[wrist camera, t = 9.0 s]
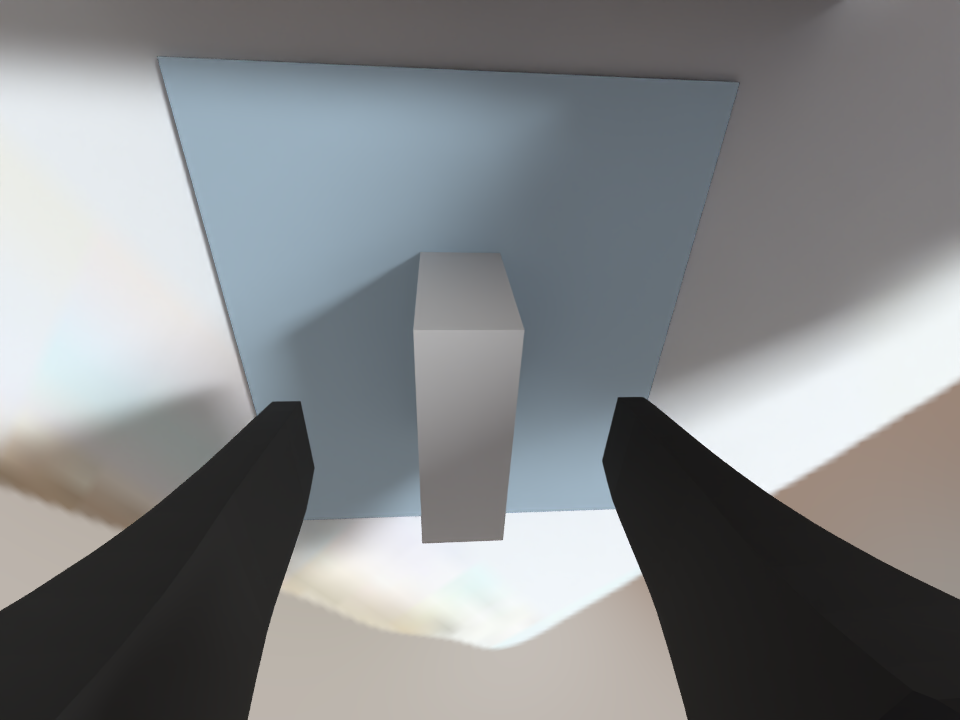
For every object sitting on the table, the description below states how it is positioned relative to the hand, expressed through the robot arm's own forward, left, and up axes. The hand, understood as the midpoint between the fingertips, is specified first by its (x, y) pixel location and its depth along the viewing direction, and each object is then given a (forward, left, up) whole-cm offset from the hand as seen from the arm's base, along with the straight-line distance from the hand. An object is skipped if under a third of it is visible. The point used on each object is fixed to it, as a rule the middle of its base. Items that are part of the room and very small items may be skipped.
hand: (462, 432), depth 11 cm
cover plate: (0, 0, -4) cm, 4 cm away
